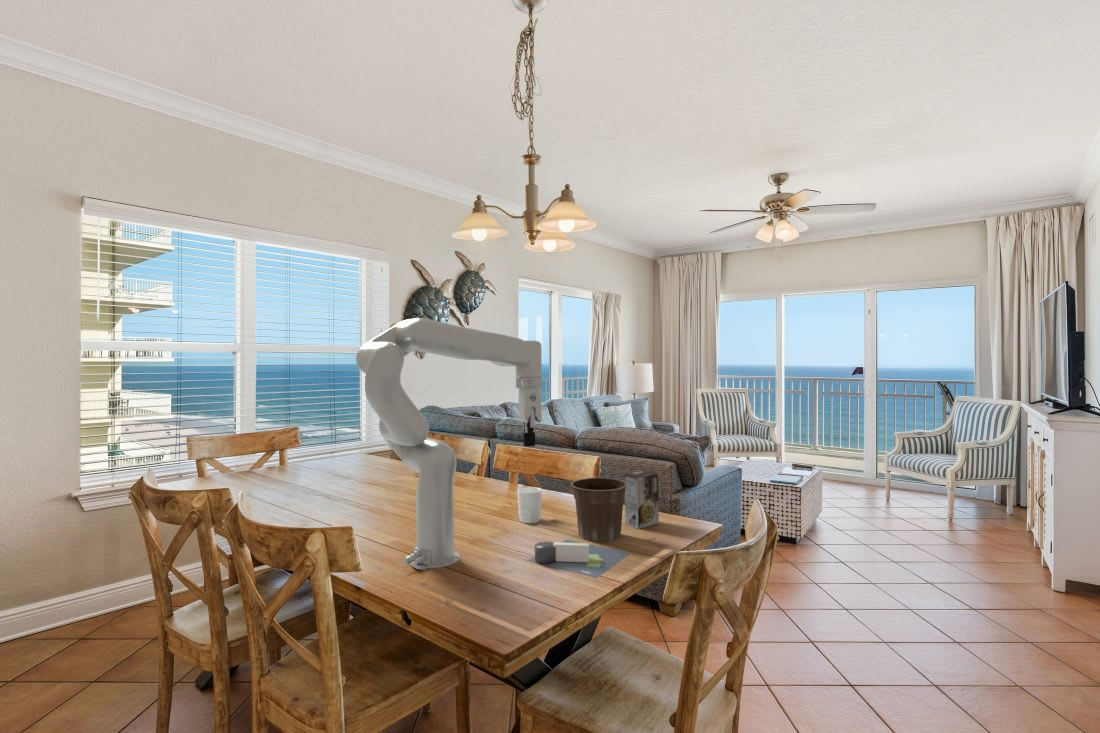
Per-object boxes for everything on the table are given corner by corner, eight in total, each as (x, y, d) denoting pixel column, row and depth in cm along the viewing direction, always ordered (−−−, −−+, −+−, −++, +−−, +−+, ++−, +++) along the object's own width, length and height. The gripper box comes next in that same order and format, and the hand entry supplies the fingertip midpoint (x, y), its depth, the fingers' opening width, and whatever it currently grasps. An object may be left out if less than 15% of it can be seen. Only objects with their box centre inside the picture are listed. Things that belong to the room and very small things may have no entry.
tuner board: (596, 581, 128) (596, 577, 128) (527, 564, 139) (527, 560, 139) (630, 556, 144) (630, 552, 144) (566, 542, 155) (566, 538, 155)
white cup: (543, 517, 180) (543, 487, 180) (540, 524, 172) (540, 493, 172) (519, 516, 181) (519, 486, 181) (515, 523, 173) (515, 492, 173)
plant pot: (559, 537, 160) (559, 482, 160) (598, 525, 170) (598, 474, 170) (599, 552, 148) (599, 493, 147) (638, 539, 158) (638, 483, 158)
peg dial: (533, 563, 137) (533, 546, 137) (536, 554, 142) (536, 539, 142) (602, 565, 135) (602, 549, 135) (602, 557, 140) (602, 541, 140)
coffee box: (644, 518, 177) (644, 469, 177) (659, 523, 172) (659, 473, 172) (623, 524, 172) (623, 473, 172) (638, 529, 167) (638, 476, 167)
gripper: (547, 384, 152) (548, 449, 152) (535, 381, 166) (535, 441, 167) (521, 384, 150) (521, 451, 150) (511, 382, 165) (511, 442, 165)
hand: (529, 445), depth 159 cm, fingers closed
